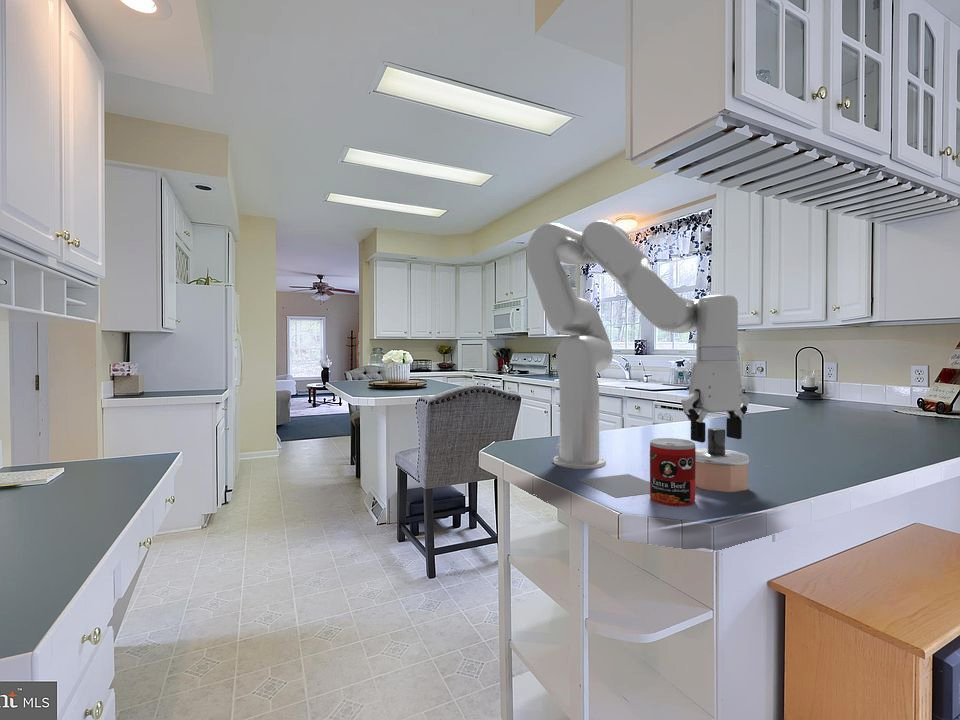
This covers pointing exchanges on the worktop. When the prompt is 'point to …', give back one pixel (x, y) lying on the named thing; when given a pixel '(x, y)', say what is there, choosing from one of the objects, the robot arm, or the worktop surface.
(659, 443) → the canned food
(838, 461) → the worktop surface
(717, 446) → the lid
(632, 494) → the plate
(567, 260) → the robot arm
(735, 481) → the bowl
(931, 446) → the worktop surface
